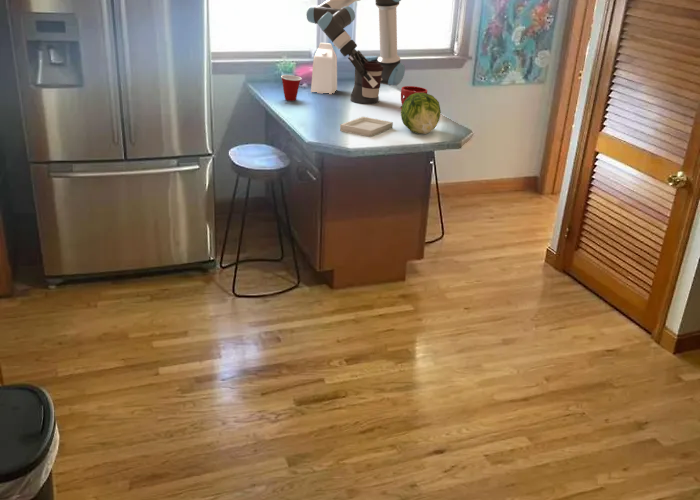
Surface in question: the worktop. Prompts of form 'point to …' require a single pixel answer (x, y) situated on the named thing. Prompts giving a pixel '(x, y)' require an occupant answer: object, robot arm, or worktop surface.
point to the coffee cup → (375, 72)
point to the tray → (366, 126)
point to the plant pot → (410, 92)
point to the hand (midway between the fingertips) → (377, 83)
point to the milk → (324, 70)
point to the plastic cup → (290, 86)
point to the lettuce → (420, 113)
